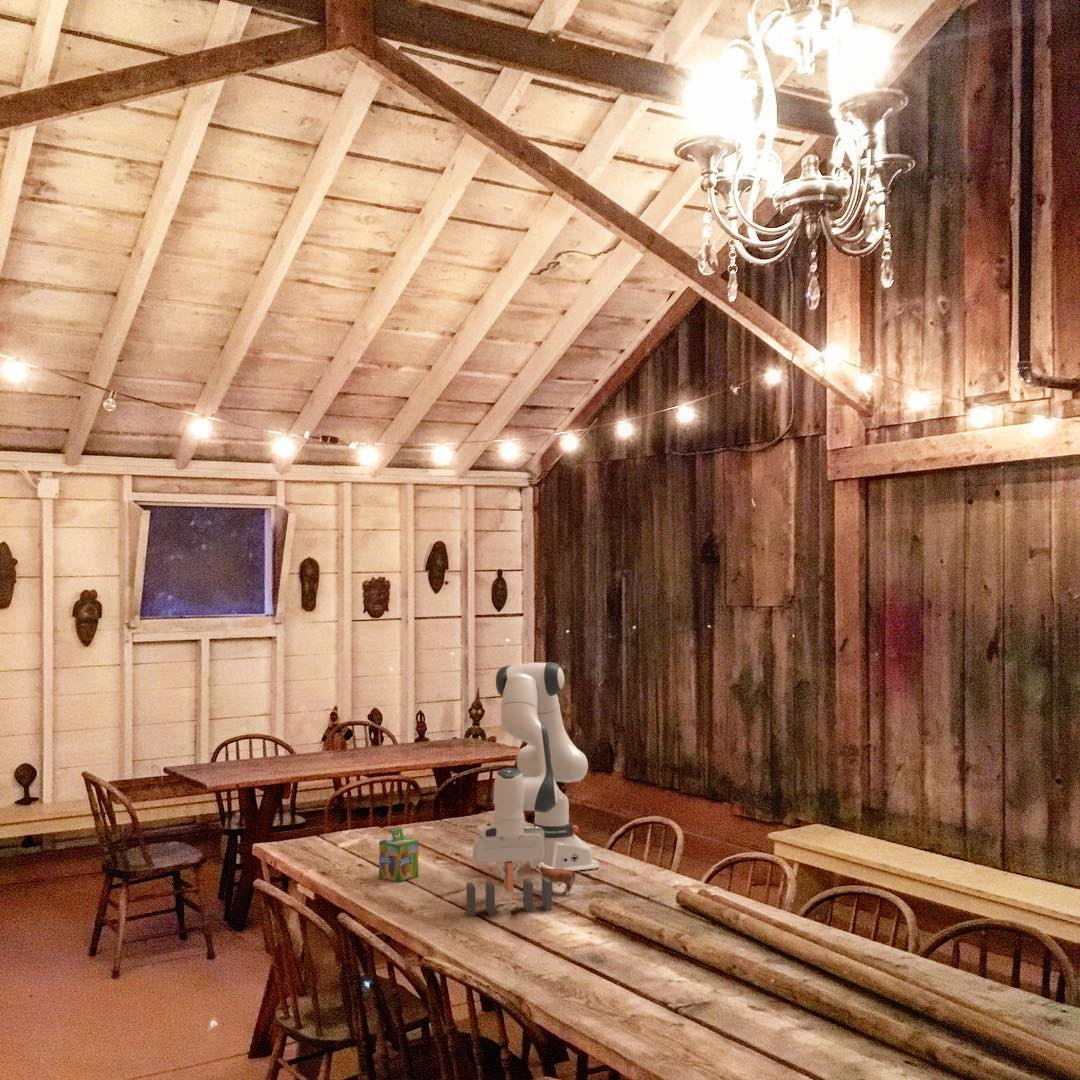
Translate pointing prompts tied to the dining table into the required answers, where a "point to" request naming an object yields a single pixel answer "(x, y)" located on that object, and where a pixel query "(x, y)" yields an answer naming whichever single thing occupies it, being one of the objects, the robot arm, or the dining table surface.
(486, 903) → the domino
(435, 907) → the dining table surface
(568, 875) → the bull figurine
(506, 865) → the domino
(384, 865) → the chalk box
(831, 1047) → the dining table surface
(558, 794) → the robot arm
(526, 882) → the domino
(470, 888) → the domino
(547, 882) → the domino
